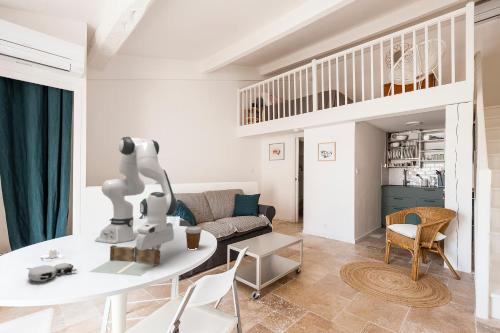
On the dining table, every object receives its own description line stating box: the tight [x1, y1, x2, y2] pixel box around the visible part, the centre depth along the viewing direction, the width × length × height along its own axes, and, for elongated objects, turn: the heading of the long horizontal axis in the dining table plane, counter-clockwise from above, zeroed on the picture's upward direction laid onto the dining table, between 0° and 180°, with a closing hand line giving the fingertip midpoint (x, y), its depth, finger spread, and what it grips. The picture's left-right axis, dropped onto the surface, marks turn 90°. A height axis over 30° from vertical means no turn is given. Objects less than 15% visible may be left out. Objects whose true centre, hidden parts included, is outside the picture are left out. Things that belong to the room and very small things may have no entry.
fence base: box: [109, 244, 137, 262], centre depth 120 cm, size 14×2×7 cm, turn 83°
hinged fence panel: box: [136, 248, 161, 266], centre depth 117 cm, size 13×2×6 cm, turn 71°
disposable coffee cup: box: [184, 225, 203, 249], centre depth 143 cm, size 10×10×12 cm
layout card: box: [89, 258, 163, 277], centre depth 115 cm, size 24×20×1 cm
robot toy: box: [26, 262, 78, 283], centre depth 102 cm, size 12×4×15 cm
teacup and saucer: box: [40, 249, 64, 262], centre depth 122 cm, size 9×8×4 cm
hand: (156, 254), depth 119 cm, fingers closed
